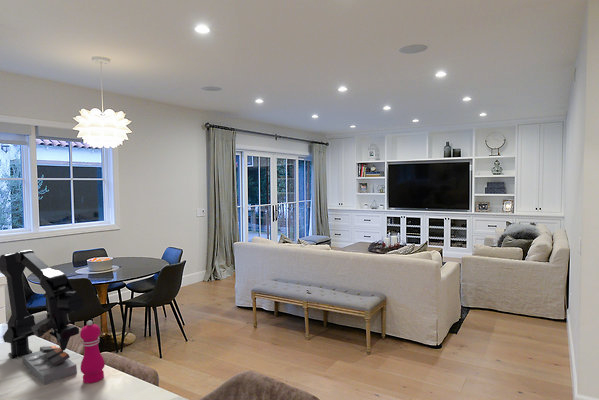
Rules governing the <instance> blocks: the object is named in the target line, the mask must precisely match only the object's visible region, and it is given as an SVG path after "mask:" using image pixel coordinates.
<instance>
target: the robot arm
mask: <svg viewBox="0 0 599 400" xmlns="http://www.w3.org/2000/svg"><path fill="white" fill-rule="evenodd" d="M26 268H27V270H29V272H31V273H32V274H33V275H34V276H36V278H37V279H38V280H39V285H40V287H41V289H42V290H43V291H44V292H45V293H44V294H43V295H42V297H43V298H45V299H46V300H47V301H46V302H47V309H48V312H47V313H46V317H45V318H44V319H42V320H40V321H39V322H37V323H36V321H35V315H33V314H30V313H29V311H28V310H27V309H28V307H27V301H26V294H25V287H24V281H23V273H24V271H25V269H26ZM0 272H1V274H2V275H4V277H5V278H6V285H7V293H8V298H9V305H10V306H9V307H10V313H11V314H10V316H9V319H8V320H7V330H6V331H5V332H4V334H3V336H2V339H3V342H4V343H8V344H10V352H9V353H8V354H7V355H8V356H9V357H10V358H11V359H13V360H14V359H17V358H20V357H21V358H22V356H24V355H27V354H31V353H33V350H31V349H30V344H29V343H30V342H29V337H31V336H34V335H35V336H36V337H38V338H40V337H43V336H44V335H45V334H46V333H48V332H49V333H48V334H49V335H51V336H53V337H54V338H55V339H56V340H55V341H57V344H58V345H59V348H60V349H62V350H63V352H65V351H66V350H67V346H68V344H69V341H70V339H71V337H74V336H76V335H80V328H79V327H78V326H76V325H74V324H72V321H71V320H69V314H70V312H78V311H80V310H81V309H82V307H83V305H84V299H83V297H82V296H81V295H79V294H78V292H77V291H75V288H74V285H73V283H71V281H70V279H69V278H68V276H67V275H66V274H65V273H64V272H62V271H61V270H58V269H52V268H51V267H50V266H48V265H47V264H46V263H45V262H44V261H43V260H41V258H39V257H38V256H37V255H36V254H35V252H34V251H33V250H32V249H25V250H19V251H15V252H10V253H5V254H4V253H3V254H1V255H0Z"/></svg>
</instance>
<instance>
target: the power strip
mask: <svg viewBox="0 0 599 400" xmlns="http://www.w3.org/2000/svg"><path fill="white" fill-rule="evenodd" d="M44 354H46V353H42V352H41V351H40V350H37V351H34V352H32V353H31V354H27V355H24V356H21V358H22V360H21V361H22V365H23V366H24V367H25V368H26V369H27V370H28V371H29V372H30V373H32V375H33V376H34V377H36V378H37V379H38V380H39V382H40V383H41V384H42V385H43V386H45V385H48V384H51V383H53V382H56V381H58V380H61V379H64V378H68V377H70V376H72V375H75V374H77V373H78V369H77V368H78V367H77V364H76V363H75V362H74V361H72V360H71V359H70V358H68V359H66V360H65V362H64V363H63V364H60V363H59V364H58V365H56V366H54V365H53V364H52V363H51V362H50V360H47V359H46V358H45V356H44Z"/></svg>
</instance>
